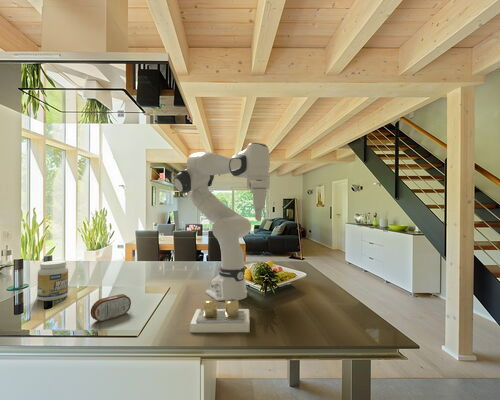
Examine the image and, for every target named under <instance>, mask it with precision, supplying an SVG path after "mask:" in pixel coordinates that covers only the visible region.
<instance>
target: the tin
mask: <svg viewBox="0 0 500 400" xmlns="http://www.w3.org/2000/svg"><path fill="white" fill-rule="evenodd" d="M131 304H132V300H131V298H130V297H129V296H127V295H126V294H125V293H124V294H123V293H120V294H116V295H111V296H107V297H103V298H100V299H98V300H96V301H95V302H94V303H93V305H92V306H91V308H90V316H91V318H92V319H93V320H94V321H96V322H105V321H108V320H112V319H115V318H119V317H122V316H124V315H125V314H127V313H128V312H129V311H130V309H131Z"/></svg>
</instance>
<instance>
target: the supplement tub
mask: <svg viewBox="0 0 500 400" xmlns="http://www.w3.org/2000/svg"><path fill="white" fill-rule="evenodd" d="M36 287H37V289H36V290H37V291H36V292H37V293H36V294H37V295H36V298H37V299H38V300H39V301H43V302H51V301H56V300H61V299H63V298H66V297H67V295H68V293H69V268H68V267H67V261H66V260H61V259H59V260H49V261H43V262H40V265H39V269H38V271H37V286H36Z"/></svg>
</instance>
